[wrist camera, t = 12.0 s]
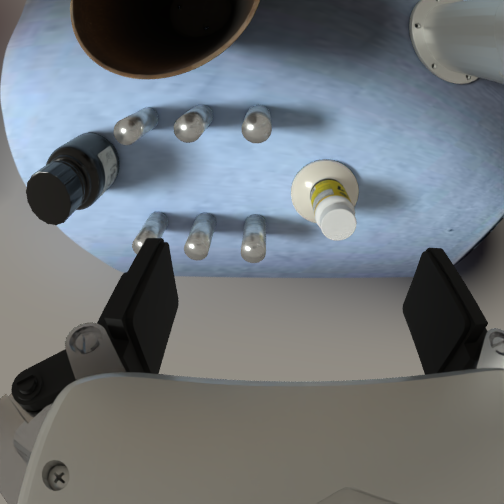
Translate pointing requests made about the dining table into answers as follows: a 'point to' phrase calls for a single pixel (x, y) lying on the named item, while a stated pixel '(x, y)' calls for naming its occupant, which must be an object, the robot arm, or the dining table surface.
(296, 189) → the coaster
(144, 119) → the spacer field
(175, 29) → the plant pot
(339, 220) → the supplement bottle
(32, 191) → the ink bottle
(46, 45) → the dining table surface
